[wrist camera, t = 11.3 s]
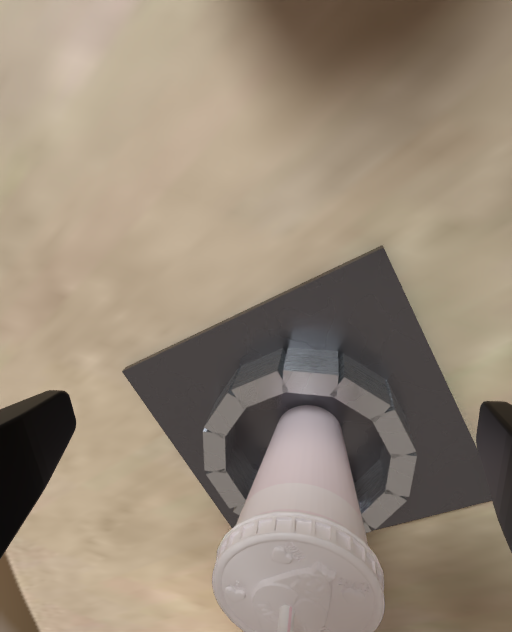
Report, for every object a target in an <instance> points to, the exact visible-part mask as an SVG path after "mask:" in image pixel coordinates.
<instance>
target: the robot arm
mask: <svg viewBox="0 0 512 632" xmlns="http://www.w3.org/2000/svg"><path fill="white" fill-rule="evenodd" d="M75 428H76V418H75V415H74V411H73V407H72V404H71V400H70V397H69V395H68V393H67V392H65V391H58V390H49V391H46V392H43V393H41V394H38V395H36V396H33V397H30V398H28V399H25V400H23V401H20V402H18V403H15V404H13V405H10V406H8V407H5V408H3V409H0V559H1V557H2V556H3V554H4V552H5V551H6V549H7V548H8V546H9V545H10V543H11V541H12V540H13V538H14V537H15V535H16V534H17V532H18V530H19V529H20V527H21V526H22V524H23V523H24V521H25V519H26V518H27V516H28V515H29V513H30V512H31V510H32V508H33V507H34V505H35V504H36V502H37V501H38V499H39V497H40V496H41V494H42V492H43V491H44V489H45V487H46V486H47V484H48V482H49V480H50V478H51V476H52V474H53V472H54V470H55V468H56V467H57V465H58V463H59V461H60V459H61V457H62V455H63V453H64V451H65V449H66V447H67V445H68V443H69V441H70V439H71V437H72V435H73V433H74V431H75ZM476 443H477V449H478V452H479V456H480V459H481V463H482V466H483V470H484V473H485V477H486V480H487V484H488V487H489V491H490V494H491V498H492V501H493V505H494V508H495V511H496V514H497V518H498V521H499V523H500V526H501V528H502V531H503V533H504V536H505V538H506V541H507V543H508V545H509V548H510V550H511V552H512V405H511V404H509V403H507V402H502V401H485V402H483V403H482V405H481V407H480V413H479V420H478V427H477V434H476Z"/></svg>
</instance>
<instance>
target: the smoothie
mask: <svg viewBox="0 0 512 632" xmlns="http://www.w3.org/2000/svg"><path fill="white" fill-rule="evenodd" d="M212 586H213V591H214V595H215V597H216V600H217V602H218V604H219V605H220V607H221V609H222V610H223V612H224V613H225V614H226V615H227V616H228V618H229V619H230V620H231V621H232V622H233V623H234V624H236V625H237V626H238V627H239V628H240V629H241V630H243V631H244V632H374V631H375V630H376V629H377V627H378V626H379V624H380V622H381V620H382V618H383V615H384V609H385V599H384V593H383V591H384V574H383V570H382V568H381V565H380V563H379V561H378V559H377V556H376V555H375V553H374V552H373V551H372V550H371V549H370V547H369V546H368V542H367V537H366V532H365V528H364V525H363V521H362V516H361V512H360V508H359V503H358V499H357V495H356V490H355V486H354V482H353V477H352V473H351V469H350V464H349V460H348V455H347V451H346V447H345V442H344V438H343V434H342V429H341V426H340V424H339V422H338V420H337V419H336V418H335V416H334V415H332V414H331V413H330V412H329V411H327V410H325V409H323V408H321V407H318V406H313V405H301V406H297V407H294V408H291V409H289V410H288V411H286V412H285V413H284V414H283V415H282V416H281V418H280V420H279V422H278V424H277V427H276V429H275V431H274V434H273V436H272V439H271V441H270V444H269V446H268V448H267V451H266V453H265V456H264V458H263V461H262V463H261V465H260V468H259V470H258V473H257V475H256V478H255V480H254V482H253V485H252V487H251V490H250V492H249V495H248V497H247V499H246V502H245V504H244V507H243V509H242V511H241V513H240V516H239V518H238V521H237V524H236V526H234V527H233V528H232V529H231V530H230V531H229V532H228V533H227V534H225V536H224V538H223V540H222V541H221V543H220V545H219V547H218V549H217V558H216V563H215V567H214V570H213V575H212Z"/></svg>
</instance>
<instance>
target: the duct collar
mask: <svg viewBox="0 0 512 632" xmlns="http://www.w3.org/2000/svg"><path fill="white" fill-rule="evenodd" d="M122 372H123V374H124V375H125V376H126V378H127V379H128V381H129V382H130V384H131V385H132V386H133V388H134V389H135V391H136V392H137V393H138V395H139V396H140V398H141V399H142V401H143V402H144V403H145V405H146V406H147V408H148V409H149V411H150V412H151V413H152V415H153V416H154V418H155V419H156V420H157V422H158V423H159V425H160V426H161V428H162V429H163V430H164V432H165V433H166V435H167V436H168V438H169V439H170V440H171V442H172V443H173V445H174V446H175V448H176V449H177V450H178V452H179V453H180V455H181V456H182V457H183V459H184V460H185V462H186V463H187V465H188V466H189V467H190V469H191V470H192V472H193V473H194V475H195V476H196V477H197V479H198V480H199V482H200V483H201V484H202V486H203V487H204V489H205V490H206V492H207V493H208V494H209V496H210V497H211V499H212V500H213V502H214V503H215V504H216V506H217V507H218V509H219V510H220V512H221V513H222V514H223V516H224V517H225V519H226V520H227V521H228V523H229V524H230V526H231V527H232V528H233V527H234V526H236V524H237V521H238V518H239V516H240V513H241V511H242V509H243V507H244V504H245V502H246V499H247V497H248V495H249V492H250V490H251V487H252V485H253V482H254V480H255V478H256V475H257V473H258V470H259V468H260V465H261V463H262V461H263V458H264V456H265V453H266V451H267V448H268V446H269V444H270V441H271V439H272V436H273V434H274V431H275V429H276V427H277V424H278V422H279V420H280V418H281V416H282V415H283V414H284V413H285V412H286V411H288V410H289V409H291V408H294V407H297V406H301V405H313V406H318V407H321V408H323V409H325V410H327V411H329V412H330V413H331V414H332V415H334V416H335V418H336V419H337V420H338V422H339V424H340V426H341V429H342V434H343V438H344V442H345V447H346V451H347V455H348V460H349V464H350V469H351V473H352V477H353V482H354V486H355V490H356V495H357V499H358V503H359V508H360V512H361V516H362V521H363V525H364V528H365V532H366V533H368V532H371V531H373V530H377V529H381V528H385V527H389V526H393V525H397V524H401V523H405V522H409V521H413V520H417V519H421V518H425V517H429V516H432V515H436V514H440V513H444V512H448V511H452V510H456V509H460V508H464V507H468V506H472V505H476V504H480V503H484V502H488V501H492V498H491V494H490V491H489V487H488V484H487V480H486V477H485V473H484V470H483V466H482V463H481V459H480V456H479V452H478V450H477V448H476V446H475V443H474V441H473V439H472V437H471V435H470V433H469V431H468V428H467V426H466V424H465V422H464V420H463V418H462V416H461V413H460V411H459V409H458V407H457V405H456V403H455V400H454V398H453V396H452V394H451V392H450V390H449V388H448V385H447V383H446V381H445V379H444V377H443V375H442V372H441V370H440V368H439V366H438V364H437V362H436V360H435V357H434V355H433V353H432V351H431V349H430V347H429V344H428V342H427V340H426V338H425V336H424V334H423V332H422V329H421V327H420V325H419V323H418V321H417V319H416V317H415V314H414V312H413V310H412V308H411V306H410V304H409V301H408V299H407V297H406V295H405V293H404V291H403V289H402V286H401V284H400V282H399V280H398V278H397V276H396V273H395V271H394V269H393V267H392V265H391V263H390V261H389V258H388V256H387V254H386V252H385V250H384V248H383V246H380V247H378V248H376V249H373V250H371V251H369V252H367V253H365V254H363V255H361V256H359V257H357V258H355V259H352V260H350V261H348V262H346V263H344V264H342V265H340V266H338V267H336V268H334V269H331V270H329V271H327V272H325V273H323V274H321V275H319V276H317V277H315V278H313V279H310V280H308V281H306V282H304V283H302V284H300V285H298V286H296V287H294V288H292V289H289V290H287V291H285V292H283V293H281V294H279V295H277V296H275V297H273V298H271V299H268V300H266V301H264V302H262V303H260V304H258V305H256V306H254V307H252V308H250V309H247V310H245V311H243V312H241V313H239V314H237V315H235V316H233V317H231V318H229V319H226V320H224V321H222V322H220V323H218V324H216V325H214V326H212V327H210V328H208V329H205V330H203V331H201V332H199V333H197V334H195V335H193V336H191V337H189V338H187V339H184V340H182V341H180V342H178V343H176V344H174V345H172V346H170V347H168V348H166V349H163V350H161V351H159V352H157V353H155V354H153V355H151V356H149V357H147V358H144V359H142V360H140V361H138V362H136V363H134V364H132V365H130V366H128V367H126V368H125V369H124V370H123V371H122Z"/></svg>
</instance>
